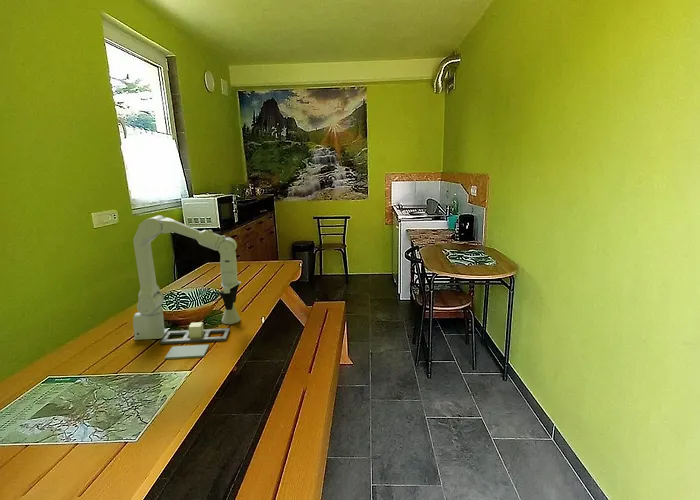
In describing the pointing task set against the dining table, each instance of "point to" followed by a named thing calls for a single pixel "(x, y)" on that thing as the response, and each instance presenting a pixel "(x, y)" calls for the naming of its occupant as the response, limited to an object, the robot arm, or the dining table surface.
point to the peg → (196, 330)
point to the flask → (230, 316)
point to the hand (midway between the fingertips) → (230, 305)
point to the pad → (187, 351)
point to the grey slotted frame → (193, 340)
